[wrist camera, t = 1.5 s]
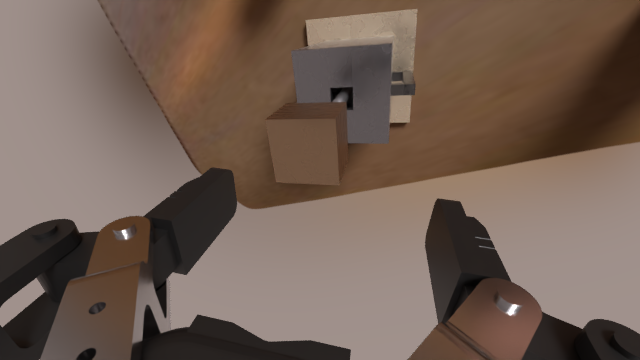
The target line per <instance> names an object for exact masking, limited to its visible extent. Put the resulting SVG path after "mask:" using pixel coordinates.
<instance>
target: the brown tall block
mask: <svg viewBox="0 0 640 360" xmlns="http://www.w3.org/2000/svg"><path fill="white" fill-rule="evenodd" d="M332 97H333V102H320V103H287V104H285V105H284V106H283V107H281V108H280V109H279V110H277V111H276V112H275V113H273V114H272V115H271V116H269V117H268V118H267V119H265V123H266V128H267V134H268V139H269V145H270V151H271V156H272V162H273V167H274V173H275V179H276V183H298V184H320V185H340V183H341V180H342V177H343V174H344V171H345V168H346V165H347V163H348V160H349V158H348V132H347V108H353V87H338V88H332Z"/></svg>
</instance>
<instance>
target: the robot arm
mask: <svg viewBox="0 0 640 360" xmlns="http://www.w3.org/2000/svg"><path fill="white" fill-rule="evenodd" d="M236 207H237V199H236V192H235V184H234V176H233V173H232V171H231V170H227V169H220V168H210V169H209V170H208V171H207V172H205V173H204V174H203V175H202V176H200V177H198V178H196V179H194V180H192V181H190V182H187V183H185V184H184V185H183V186H181V187H180V188H179V189H178V190H177V191H175V192H174V193H173V194H171V195H170V197H168V198H166V199H165V200H164V201H162V202H161V203H160V204H159V205H157V206H156V207H155V208H153V209H152V210H151V211H150V212H148V213H147V214H146V215H145V216H129V217H125V218H121V219H118V220H115V221H113V222H111V223H109V224H108V225H106V226H105V227H104V228H103V229H101V231H100V232H85V233H79V231H78V229H77V227H76V225H75V223H74V222H73V221H71V220H68V219H57V220H51V221H47V222H43V223H40V224H38V225H36V226H33V227H31V228H29V229H27V230H25V231H24V232H22V233H20V234H19V235H17V236H15V237H14V238H12V239H10V240H9V241H7V242H5V243H4V244H2V245H1V246H0V307H1V306H2V304H3V303H4V302H5V301H7V300H8V299H9V298H10V297H12V296H13V295H14V294H16V293H17V292H18V291H19V290H21V289H22V288H23V287H25V286H26V285H27V284H28V283H30V282H31V281H33V280H34V279H35V278H37V279H38V281H39V282H40V284H41V285H42V287H43V289H44V290H45V292H44V293H43V294H42V295H41V296H40V297H38V298H37V299H36V300H35V301H34V302H32V303H31V304H30V305H29V306H28V307H26V308H25V309H24V310H23V311H22V312H20V313H19V314H18V315H17V316H16V317H15V318H13V319H12V320H11V321H10V322H8V323H7V324H6V325H5V326H4V327H1V326H0V360H39V359H40V360H350V352H351V350H350V349H346V348H341V347H337V346H333V345H328V344H324V343H320V342H315V341H311V340H310V341H281V342H280V341H279V342H268V341H264V340H262V339H261V338H259V337H257V336H255V335H254V334H252V333H250V332H248V331H247V330H244V329H243V328H241V327H240V326H238V325H236V324H234V323H232V322H228V321H223V320H219V319H215V318H210V317H206V316H201V315H197V316H196V318H195V319H194V321H193V322H192V324H191V326H190V327H185V328H178V329H174V330H171V323H170V283H169V279H168V277H169V275H170V274H171V273H172V272H175V273H179V274H184V275H187V273H188V272H189V271H190V270H191V268H192V267H193V266H194V265H195V263H196V262H197V261H198V260H199V258H200V257H201V256H202V255H203V253H204V252H205V251H206V250H207V249H208V247H209V246H210V245H211V244H212V242H213V241H214V240H215V239H216V237H217V236H218V235H219V234H220V232H221V231H222V229H224V227H225V226H226V225H227V224H228V222H229V221H230V220H231V218H232V217H233V216H234V214H235V212H236ZM425 248H426V253H427V260H428V266H429V272H430V278H431V284H432V289H433V295H434V301H435V307H436V313H437V319H438V325H437V326H436V327H435V328H434V329H433V330H432V331H431V333H430V334H429V335H428V336H427V337H426V338H425V340H424V341H423V342H422V343H421V344H420V345H419V347H418V348H417V349H416V350H415V352H413V354H412V355H411V356H410V357H409V358H408V359H407V360H640V334H638V333H637V332H635V331H633V330H631V329H630V328H628V327H626V326H623V325H621V324H618V323H616V322H613V321H609V320H604V319H594V320H591V321H589V322H588V323H587V325H586V326H585V327H584V328H583V329H581V328H579V327H576V326H574V325H572V324H569V323H567V322H564V321H562V320H559V319H557V318H554V317H552V316H550V315H548V314H545V313H543V312H542V310H541V307H540V306H539V304H538V302H537V301H536V300H535V298H533V296H532V295H531V294H530V293H528V292H527V291H526V290H525V289H523V288H522V287H520V286H518V285H516V284H515V283H512V282H511V280H510V278H509V276H508V274H507V272H506V270H505V268H504V266H503V263H502V261H501V259H500V257H499V255H498V253H497V251H496V250H495V247H494V245H493V243H492V241H491V240H490V236H489V234H488V232H487V230H486V228H485V227H484V226H483V225H482V224H481V223H480V222H479V221H478V220H477V219H475V218H474V217H467V216H466V214H465V212H464V209H463V207H462V204H461V202H459V201H453V200H445V199H437V200H436V202H435V205H434V208H433V212H432V215H431V219H430V222H429V226H428V229H427V233H426V241H425Z"/></svg>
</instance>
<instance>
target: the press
mask: <svg viewBox="0 0 640 360" xmlns="http://www.w3.org/2000/svg"><path fill="white" fill-rule="evenodd" d="M416 22H417V9H411V10H402V11H392V12H382V13H372V14H362V15H352V16H342V17H333V18H323V19H313V20H306V28H307V39H308V46H307V47H303V48H300V49H296V50H293V51H291V53H292V61H293V70H294V78H295V87H296V95H297V103H320V102H333V97H332V88H338V87H353V108H347V132H348V143H389V130H390V123H405V122H410V108H411V95H415V80H414V77H413V65H414V51H415V36H416Z"/></svg>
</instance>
